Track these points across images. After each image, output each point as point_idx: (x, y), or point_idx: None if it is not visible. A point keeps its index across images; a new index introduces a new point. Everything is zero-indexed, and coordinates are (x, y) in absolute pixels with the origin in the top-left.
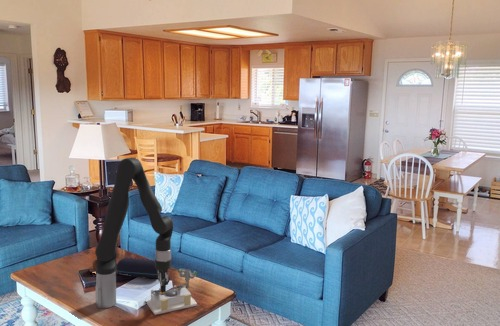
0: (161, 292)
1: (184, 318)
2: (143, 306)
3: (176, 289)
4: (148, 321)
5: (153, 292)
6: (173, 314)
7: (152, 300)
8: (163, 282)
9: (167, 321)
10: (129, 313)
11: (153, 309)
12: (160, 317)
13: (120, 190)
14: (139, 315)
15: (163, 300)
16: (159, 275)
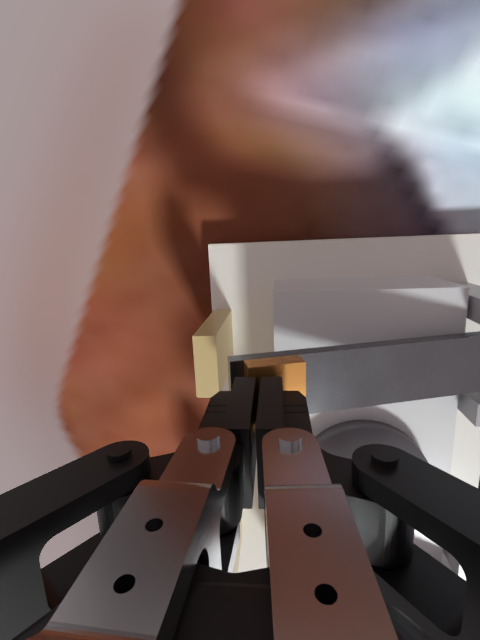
0: (246, 375)
1: (89, 426)
2: (403, 189)
3: (428, 550)
4: (128, 164)
5: (477, 316)
6: (168, 378)
7: (401, 279)
8: (12, 509)
9: (84, 306)
10: (330, 19)
11: (266, 249)
12: (158, 275)
13: None
14: (254, 111)
15: (196, 352)
16: (268, 611)
